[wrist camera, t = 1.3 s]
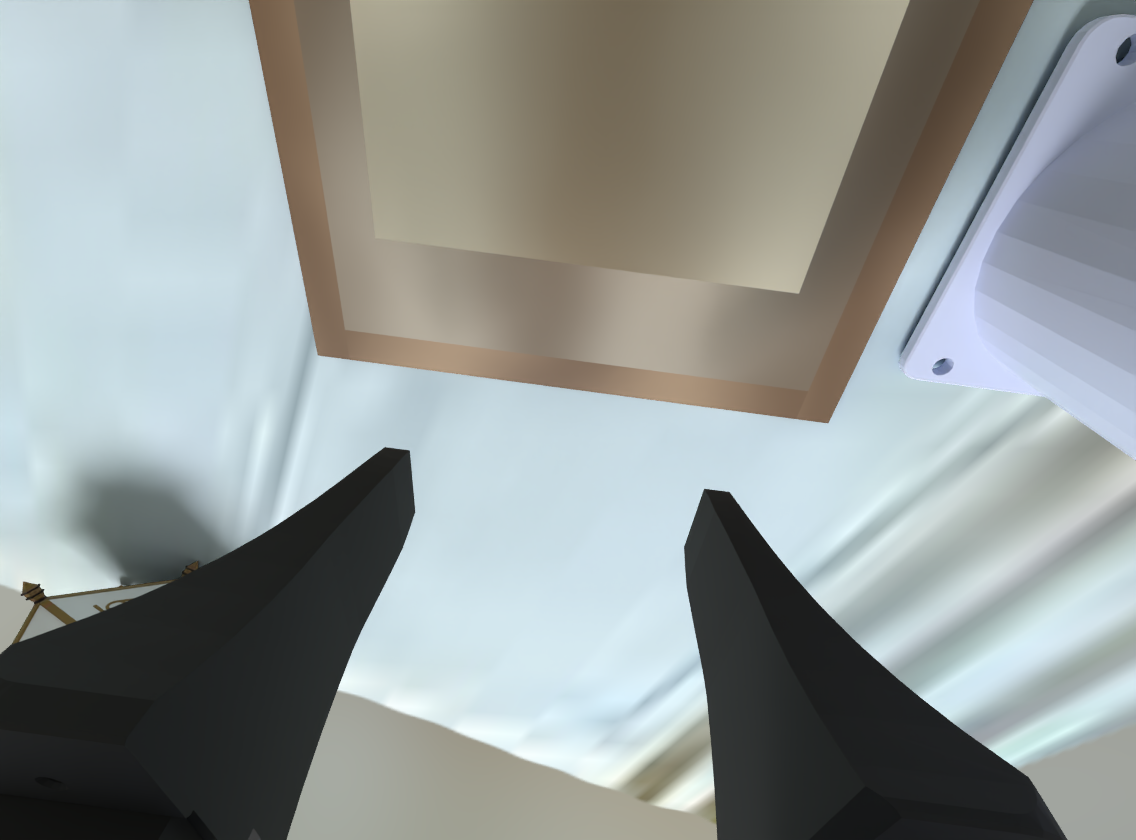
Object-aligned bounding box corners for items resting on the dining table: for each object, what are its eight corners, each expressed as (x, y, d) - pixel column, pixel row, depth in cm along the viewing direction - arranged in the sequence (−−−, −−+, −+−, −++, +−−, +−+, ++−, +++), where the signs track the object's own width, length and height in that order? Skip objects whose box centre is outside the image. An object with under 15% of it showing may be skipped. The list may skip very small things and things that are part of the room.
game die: (197, 515, 26) (-112, 560, 16) (318, 583, 23) (34, 683, 14) (153, 671, 26) (-170, 803, 17) (267, 755, 24) (-40, 965, 14)
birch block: (901, -260, 8) (1101, -507, 5) (750, 240, 13) (798, 293, 9) (419, -319, 8) (284, -604, 5) (438, 200, 13) (375, 237, 9)
